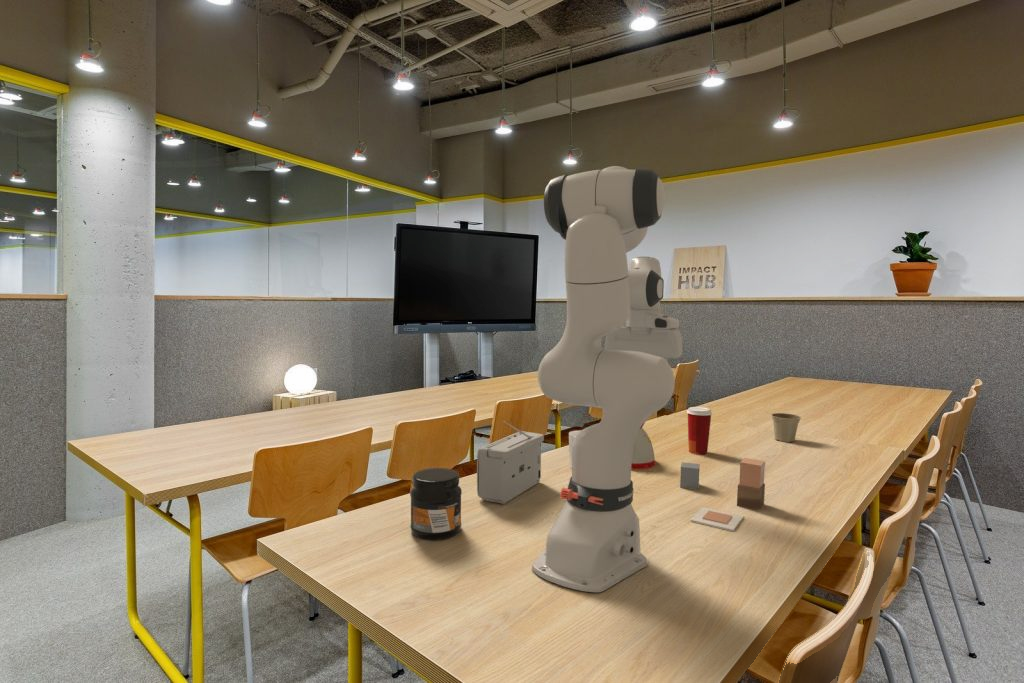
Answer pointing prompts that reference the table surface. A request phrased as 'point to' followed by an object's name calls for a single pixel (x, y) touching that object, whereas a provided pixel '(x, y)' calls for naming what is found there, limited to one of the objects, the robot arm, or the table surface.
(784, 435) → the flower pot
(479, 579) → the table surface
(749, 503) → the walnut block
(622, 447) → the robot arm
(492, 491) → the stereo radio cassette player
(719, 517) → the tile
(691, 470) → the grey block
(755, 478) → the salmon orange block
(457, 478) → the supplement container
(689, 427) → the paper cup
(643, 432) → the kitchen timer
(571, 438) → the white cup
